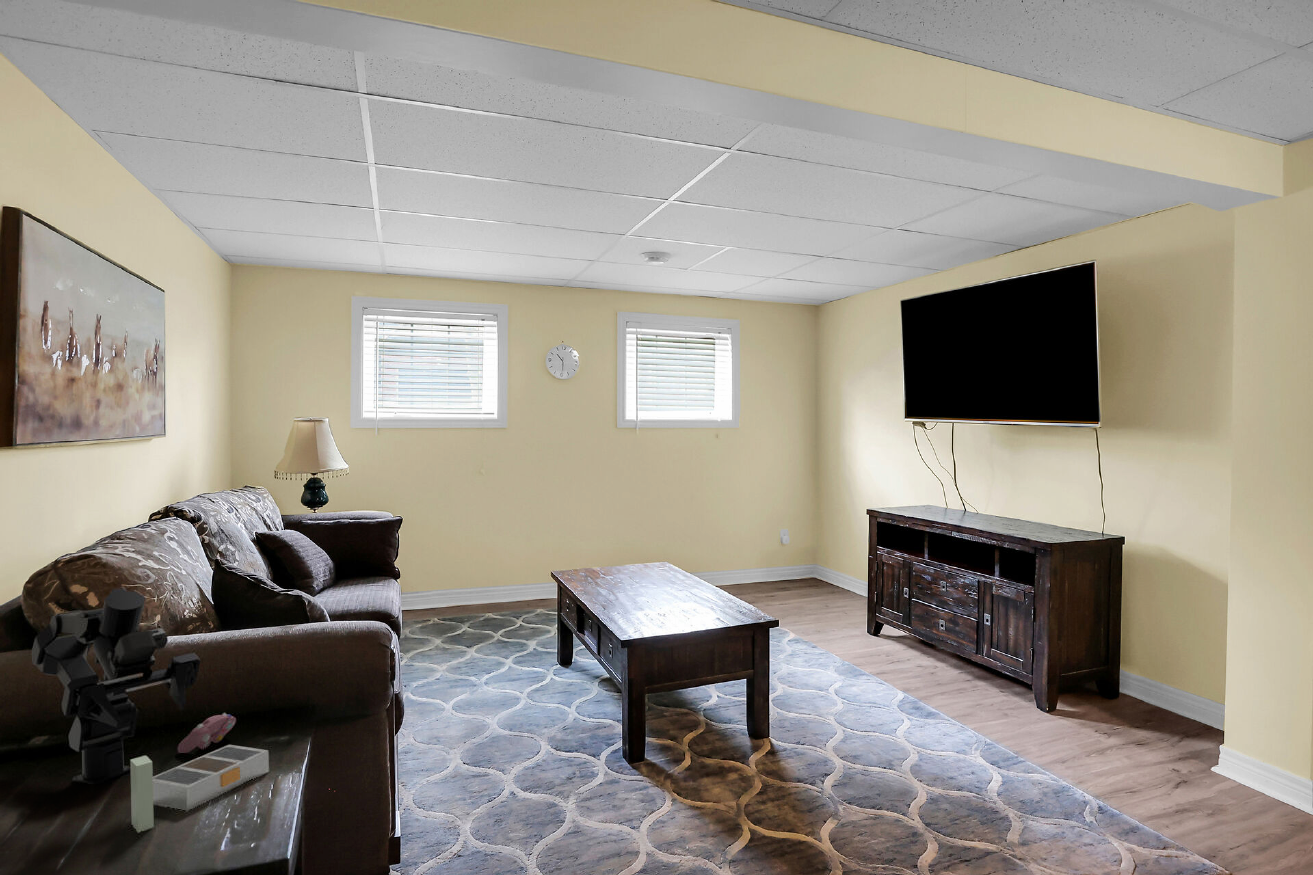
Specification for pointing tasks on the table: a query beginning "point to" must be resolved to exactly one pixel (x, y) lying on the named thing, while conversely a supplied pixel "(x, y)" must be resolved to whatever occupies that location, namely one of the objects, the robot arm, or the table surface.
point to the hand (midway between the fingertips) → (152, 715)
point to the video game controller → (207, 732)
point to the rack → (208, 776)
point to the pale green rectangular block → (142, 793)
